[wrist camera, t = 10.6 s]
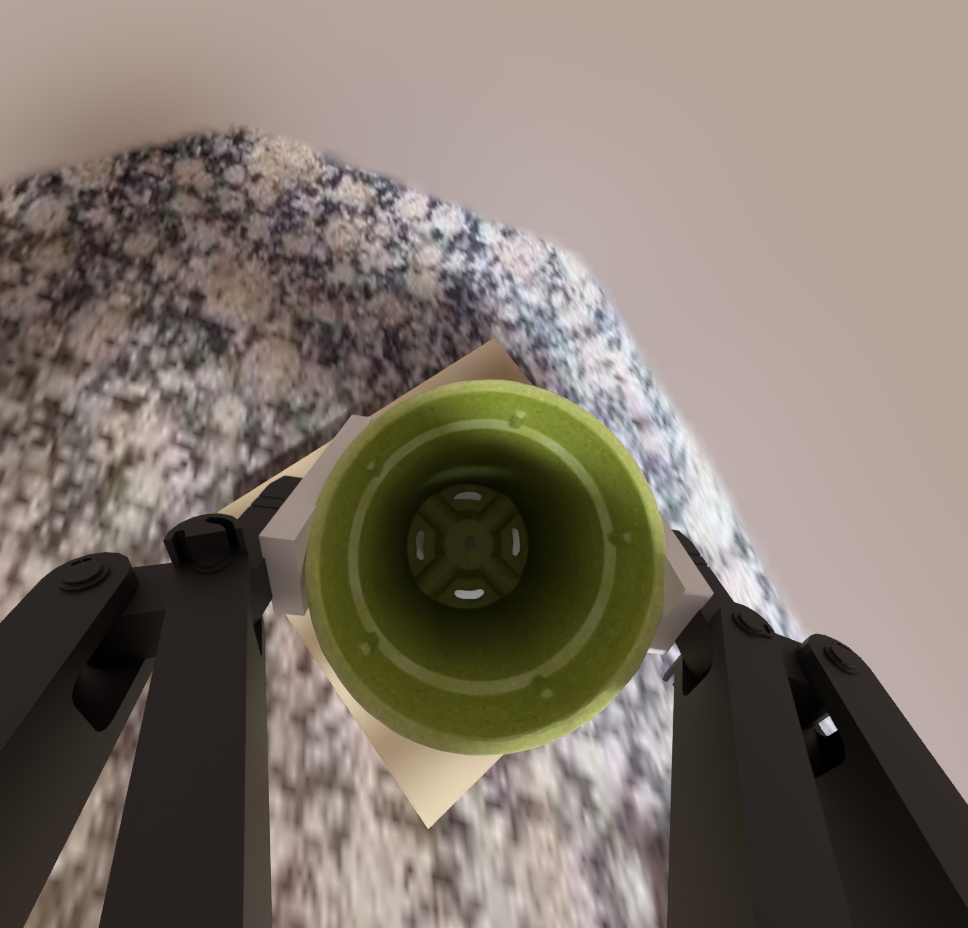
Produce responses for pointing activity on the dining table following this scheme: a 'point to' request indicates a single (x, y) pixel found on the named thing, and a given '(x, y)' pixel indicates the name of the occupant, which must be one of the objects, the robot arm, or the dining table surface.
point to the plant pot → (485, 567)
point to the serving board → (414, 766)
